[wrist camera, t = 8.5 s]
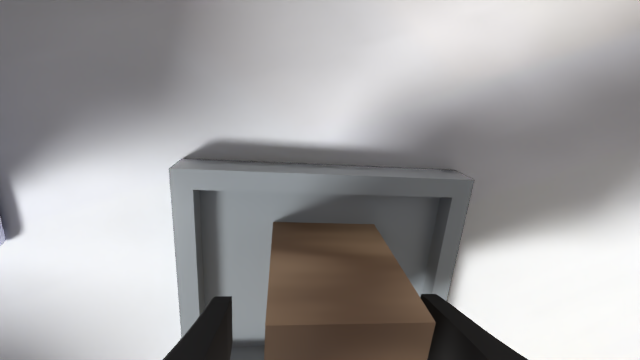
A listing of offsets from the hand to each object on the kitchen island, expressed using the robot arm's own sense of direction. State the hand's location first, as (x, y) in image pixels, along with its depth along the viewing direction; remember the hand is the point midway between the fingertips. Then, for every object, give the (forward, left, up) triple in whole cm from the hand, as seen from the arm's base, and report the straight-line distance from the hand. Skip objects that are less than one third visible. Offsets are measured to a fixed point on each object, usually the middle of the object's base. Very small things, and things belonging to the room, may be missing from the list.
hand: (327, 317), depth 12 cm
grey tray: (0, 0, -3) cm, 3 cm away
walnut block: (0, 0, -3) cm, 3 cm away
